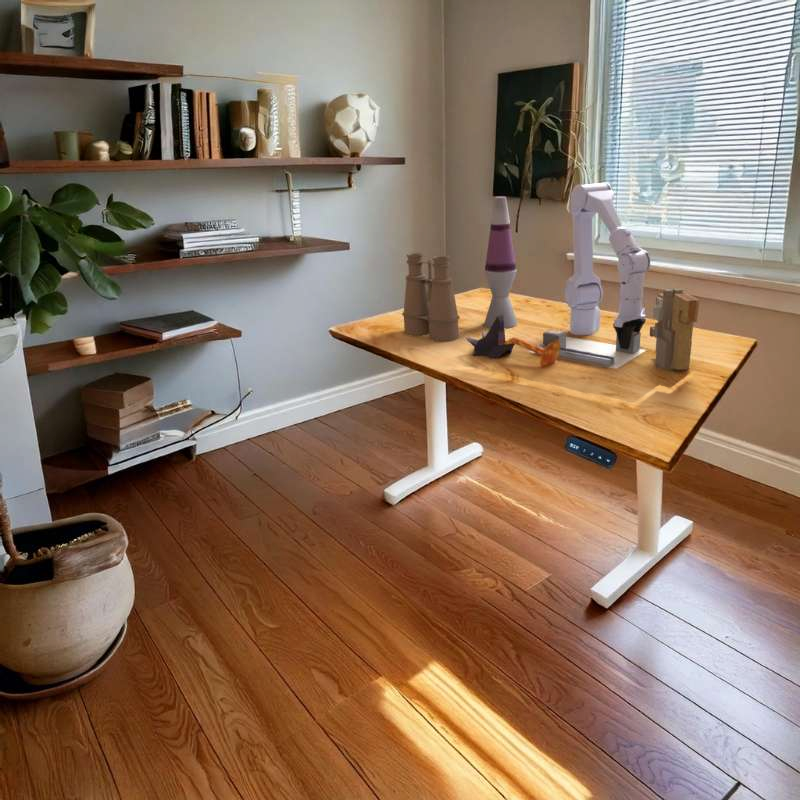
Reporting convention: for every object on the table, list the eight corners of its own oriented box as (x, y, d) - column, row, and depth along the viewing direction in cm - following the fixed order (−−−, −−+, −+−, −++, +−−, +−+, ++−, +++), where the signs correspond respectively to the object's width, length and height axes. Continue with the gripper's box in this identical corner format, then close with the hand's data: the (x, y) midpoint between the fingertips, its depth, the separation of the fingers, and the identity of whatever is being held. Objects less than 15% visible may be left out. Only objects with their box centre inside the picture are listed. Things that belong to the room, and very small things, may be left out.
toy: (669, 358, 184) (676, 284, 177) (697, 379, 168) (706, 299, 161) (645, 359, 184) (651, 285, 176) (671, 381, 168) (679, 301, 161)
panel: (561, 339, 204) (561, 335, 204) (646, 354, 188) (646, 350, 187) (528, 356, 192) (528, 351, 192) (616, 373, 176) (616, 368, 175)
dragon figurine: (543, 345, 174) (467, 310, 188) (533, 386, 180) (460, 349, 194) (565, 335, 180) (491, 302, 194) (555, 375, 187) (483, 340, 201)
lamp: (478, 322, 227) (476, 197, 212) (508, 318, 230) (508, 194, 215) (492, 330, 217) (491, 199, 203) (523, 326, 220) (524, 196, 205)
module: (622, 347, 191) (623, 329, 189) (639, 350, 188) (640, 331, 186) (615, 351, 188) (616, 332, 186) (633, 354, 185) (634, 335, 183)
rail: (540, 350, 192) (540, 343, 192) (614, 364, 178) (614, 356, 178) (534, 353, 190) (535, 346, 190) (609, 367, 176) (609, 359, 176)
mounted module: (550, 346, 195) (550, 328, 193) (565, 349, 192) (566, 331, 190) (542, 350, 192) (543, 332, 190) (558, 353, 189) (559, 335, 187)
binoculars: (466, 336, 213) (464, 255, 204) (445, 344, 207) (442, 261, 198) (417, 326, 227) (414, 250, 218) (396, 333, 221) (392, 255, 211)
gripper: (633, 305, 175) (630, 355, 180) (657, 293, 185) (653, 341, 190) (607, 302, 179) (605, 351, 184) (632, 290, 189) (628, 338, 194)
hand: (627, 346), depth 187 cm, fingers closed on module, 4 cm apart
